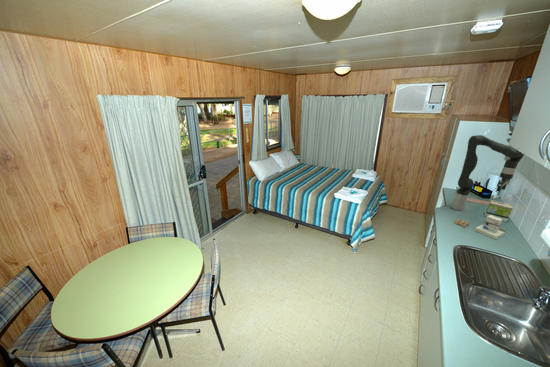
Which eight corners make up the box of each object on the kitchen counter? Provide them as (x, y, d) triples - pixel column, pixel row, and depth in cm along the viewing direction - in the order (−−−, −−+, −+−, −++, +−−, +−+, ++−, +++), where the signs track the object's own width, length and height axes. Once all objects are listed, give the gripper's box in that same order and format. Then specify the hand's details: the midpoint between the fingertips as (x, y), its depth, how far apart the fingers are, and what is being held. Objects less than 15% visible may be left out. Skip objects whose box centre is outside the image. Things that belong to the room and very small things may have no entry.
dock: (474, 230, 187) (476, 225, 185) (483, 226, 192) (485, 221, 190) (495, 239, 175) (497, 233, 173) (503, 234, 181) (506, 229, 179)
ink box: (482, 228, 185) (486, 216, 181) (485, 226, 187) (489, 214, 183) (495, 233, 178) (500, 220, 174) (497, 231, 180) (503, 219, 176)
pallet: (453, 223, 199) (454, 221, 198) (458, 220, 202) (459, 219, 201) (463, 227, 192) (464, 225, 191) (468, 225, 195) (469, 223, 194)
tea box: (484, 216, 208) (490, 203, 203) (484, 212, 215) (490, 199, 209) (506, 222, 198) (512, 208, 193) (506, 217, 205) (512, 204, 200)
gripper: (505, 170, 185) (498, 187, 191) (497, 172, 179) (490, 190, 185) (517, 172, 179) (510, 190, 185) (509, 175, 173) (502, 193, 179)
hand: (500, 190), depth 185 cm, fingers open, 8 cm apart
